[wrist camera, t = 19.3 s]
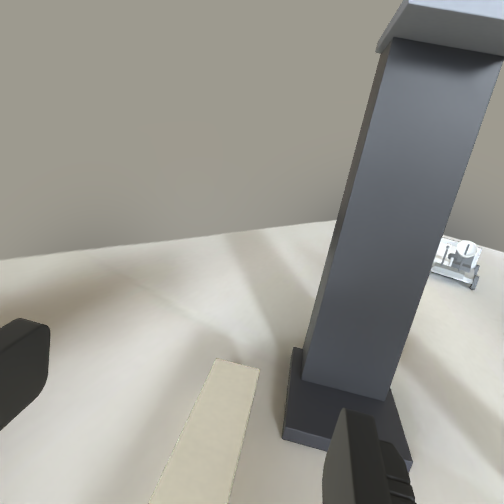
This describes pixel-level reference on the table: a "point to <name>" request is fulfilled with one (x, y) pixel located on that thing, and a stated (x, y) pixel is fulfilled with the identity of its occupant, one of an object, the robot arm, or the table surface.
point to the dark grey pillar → (394, 213)
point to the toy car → (457, 260)
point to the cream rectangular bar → (210, 439)
